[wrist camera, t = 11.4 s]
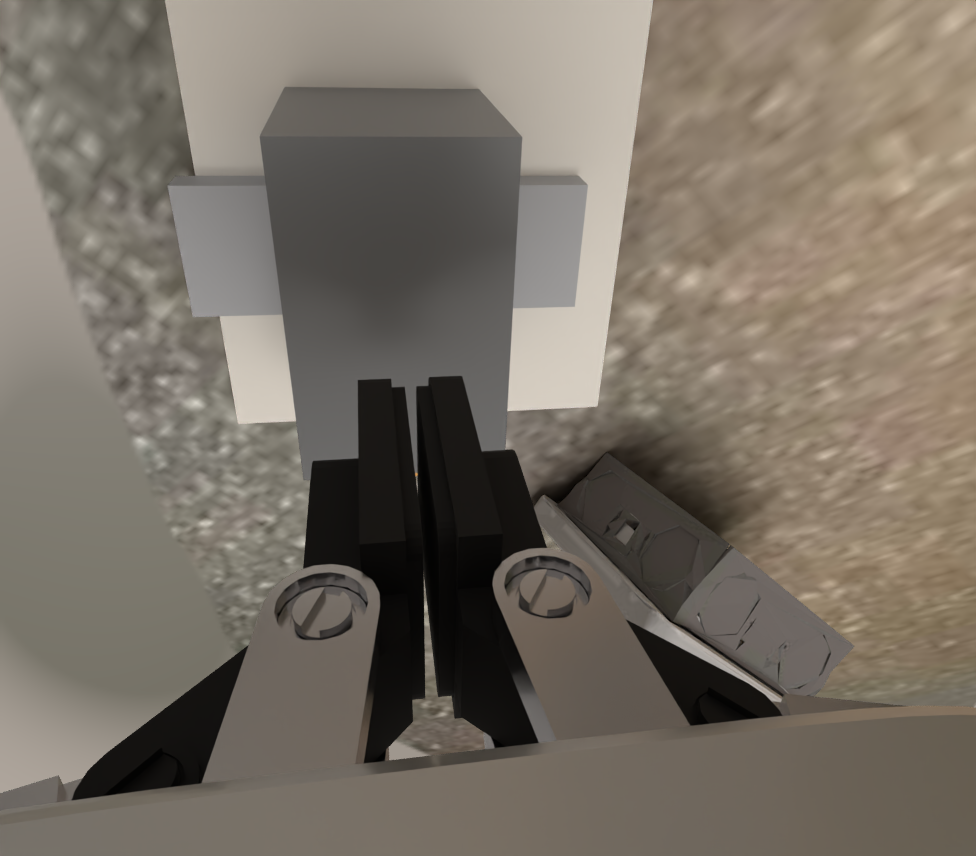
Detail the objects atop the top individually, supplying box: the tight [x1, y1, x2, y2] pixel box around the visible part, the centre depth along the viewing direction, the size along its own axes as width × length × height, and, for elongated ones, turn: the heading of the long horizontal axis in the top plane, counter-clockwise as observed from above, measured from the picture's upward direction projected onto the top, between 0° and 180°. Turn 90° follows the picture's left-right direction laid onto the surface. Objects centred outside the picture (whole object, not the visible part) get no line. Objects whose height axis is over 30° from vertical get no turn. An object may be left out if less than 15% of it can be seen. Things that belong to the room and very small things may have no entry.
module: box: [260, 87, 522, 480], centre depth 19 cm, size 5×9×6 cm, turn 178°
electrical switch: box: [534, 452, 854, 702], centre depth 27 cm, size 9×5×9 cm, turn 46°
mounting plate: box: [165, 0, 653, 424], centre depth 19 cm, size 12×22×2 cm, turn 178°
